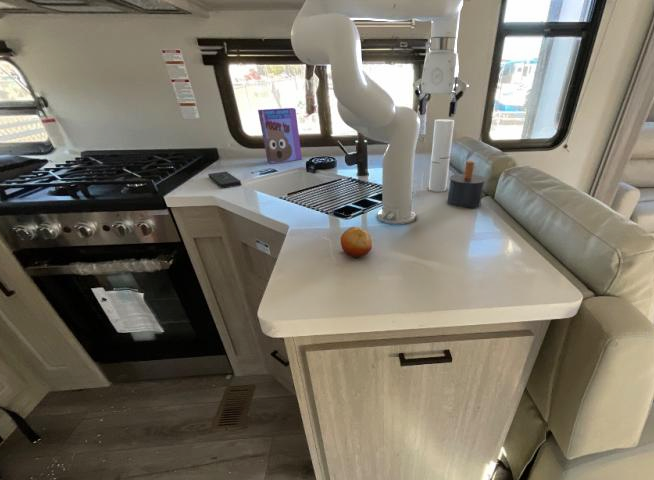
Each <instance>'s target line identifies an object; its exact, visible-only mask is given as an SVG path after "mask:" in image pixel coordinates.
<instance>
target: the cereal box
mask: <svg viewBox="0 0 654 480" xmlns="http://www.w3.org/2000/svg"><path fill="white" fill-rule="evenodd" d="M257 113H258V118H259V124H260V129H261V133H262V140H263V145H264V151H265V155H266V156H265V157H266V161H267V164H270V165H276V164H281V163H288V162H295V161H302V160H303V157H302V149H301V141H300V133H299V126H298V125H299V124H298V118H297V109H296V108H294V107H285V108H283V107H282V108H269V109H267V108H265V109H257Z"/></svg>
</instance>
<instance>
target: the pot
mask: <svg viewBox="0 0 654 480" xmlns="http://www.w3.org/2000/svg"><path fill="white" fill-rule="evenodd" d="M484 185H485V183H483V184H478V185H466V184H459V183H455V182H452V181H451V180H450V179H449V185H448V186H449V188H448V196H447V204H448V205H449V206H451V207H452V206H453V207H458V208H463V209H469V210H473V209H477V208H479V207H480V206H481V201H482V196H483V192H484Z"/></svg>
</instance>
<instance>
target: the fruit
mask: <svg viewBox="0 0 654 480" xmlns="http://www.w3.org/2000/svg"><path fill="white" fill-rule="evenodd" d="M340 246H341V249H342V252H341V254H345V255H346V256H348V257H350V258H353V259H359V258H362V257H363V256H365V255H367V254H368V253H369V252H370V251H371V250H372V247H373V241H372V238H371V234H370V233H369V232H367V231H366V230H365V229H364V228H361V227H356V226H352V227H348V228H347V229H346V230H345V231H344V232H343V233H342V234H341V235H340Z"/></svg>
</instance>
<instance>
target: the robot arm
mask: <svg viewBox="0 0 654 480" xmlns="http://www.w3.org/2000/svg"><path fill="white" fill-rule="evenodd" d="M463 3H464V0H305V2H304V3H303V5H302V7H301V8H300V10H299V12H298V14H297V16H296V17H295V18H294V21H293V24H292V27H291V31H290V42H291V47H292V50H293V52H294V54H295V56H296V57H297V58H298V59H299V61H301V62H302V63H304V64H306V65H308V66H327V67H329V66H330V73H331V74H330V75H331V82H332V90H333V91H332V92H333V95H334V97H335V99H336V100H337V101H336V109H337V112H338V114H339V117H340V119H341V120H342V122H343V123H344V124H345V125H346V126H348V127H349V128H351V129H353V130H354V131H356V132H357V133H358V134H360V135H362V136H363V137H365V138H367V139H369V140H372V141H375V142H380V143H385V144H388V145H387V148H386V150H385V151H384V154H383V157H382V166H381V169H382V175H381V177H382V179H381V181H382V185H381V187H382V190H381V191H382V193H381V194H382V196H381V197H382V199H381V205H382V206H381V210H379V211H378V212H377V215H376V219H377V220H378V221H380V222H383V223H386V224H390V225H391V224H392V225H405V224H409V223H411V222H413V221H415V220H416V216H417V215H416V213H415V211H413V210H412V207H413V189H414V173H415V171H414V170H415V156H416V148H417V144H418V139H419V134H420V130H421V120H420V116H423V115H424V116H425V115H426V113H427V99H426V98H427V97H428V96H429V94H432V95H448V96H449V97H450V99H451V101H450V102H449V110H448V117H449V118H452V117H453V118H454V117H455V114H457V105H458V102H459V100H461V98H462V97H463V96H465V92H466V91H467V89H468V87H469V84H468V83H467V82H465V81H464V80H462V79H461V78H460V77H459V53H458V52H457V47H458V46H457V44H458V37H459V28H460V27H459V26H460V17H461V10H462V7H463V5H464V4H463ZM355 20H364V21H365V20H366V21H381V22H383V21H384V22H405V21H412V20H415V21H417V22H431V24H430V25H431V26H430V27H431V28H430V38H429V41H426V42H425V48H426V49H428V51H429V52H426V53H425V58H424V63H423V68H422V75H421V77H420V78H419V79H417V80H415V81H414V82H413V83H412V87H413V91H414V94H415V95H416V97H417V99H418V101H419V104H418V105H419V106H418V112H419V114H418V112H416V111H415V110H414V109H413V108H411V107H408V106H404V105H403V106H402V105H396V104H395V101H394V100H393V98H392V97H391V95H390V94H389V93H388V92H387V91H386V90H385V89H384V88H383V87H382V86H380V85H379V84H378V83H377V82H376V81H374V80H373V79H372V78H371V77H370V76H369V75H368V74H367V73H366V72H365V70H364V67H363V62H362V61H363V60H362V41H361V36H360V33H359V30H358V27H357V26H356V24H355V22H354V21H355ZM420 86H421V87H420ZM458 86H459V87H460V90H459V92H457V89H458ZM419 115H420V116H419Z"/></svg>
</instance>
